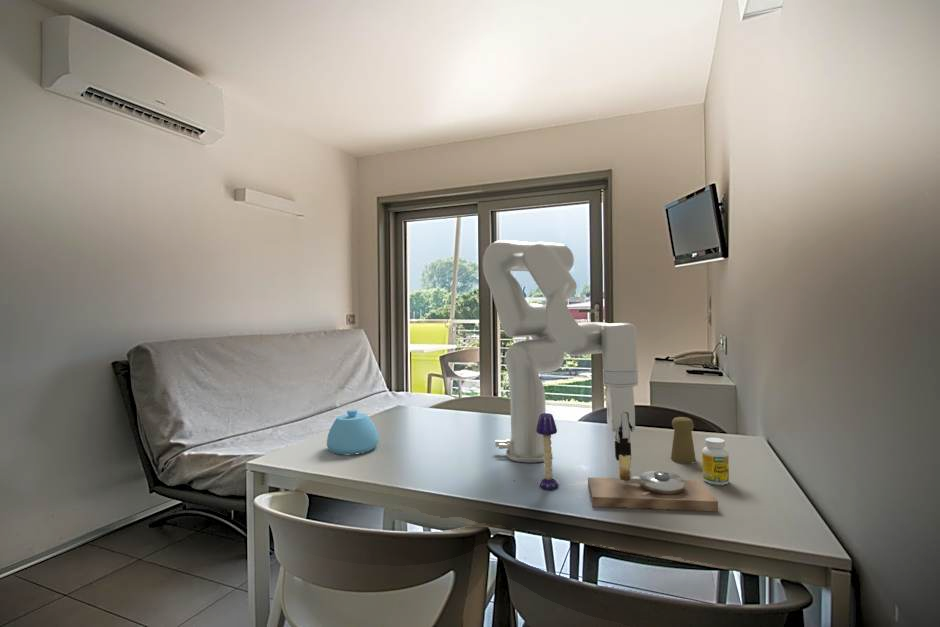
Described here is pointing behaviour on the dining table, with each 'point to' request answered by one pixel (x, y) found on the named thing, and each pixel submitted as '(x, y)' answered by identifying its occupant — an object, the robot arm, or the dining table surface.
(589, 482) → the stand plate
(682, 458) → the cork
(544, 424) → the toy lamp
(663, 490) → the crank handle
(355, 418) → the sugar bowl
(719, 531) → the dining table surface
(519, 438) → the robot arm
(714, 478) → the supplement bottle
